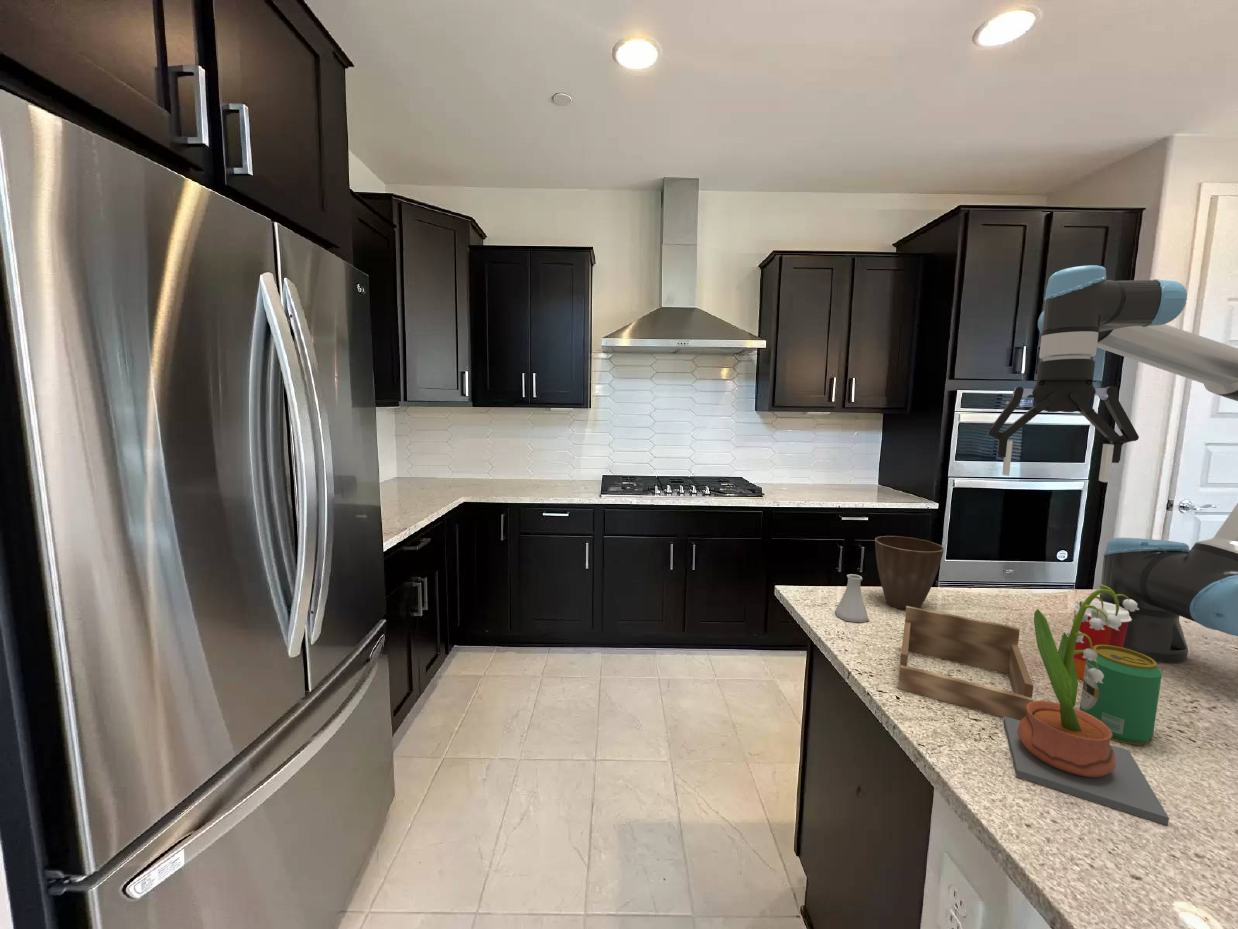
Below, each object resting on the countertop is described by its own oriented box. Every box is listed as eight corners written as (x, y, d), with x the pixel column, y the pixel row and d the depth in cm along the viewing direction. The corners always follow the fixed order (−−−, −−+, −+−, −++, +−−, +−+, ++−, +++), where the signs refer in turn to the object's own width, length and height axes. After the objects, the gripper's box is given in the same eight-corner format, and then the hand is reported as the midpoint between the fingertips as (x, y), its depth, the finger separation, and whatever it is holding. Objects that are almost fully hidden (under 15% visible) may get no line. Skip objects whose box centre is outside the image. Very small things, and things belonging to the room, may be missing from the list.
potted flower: (1080, 735, 72) (1101, 571, 70) (1152, 787, 62) (1180, 597, 60) (998, 732, 73) (1016, 569, 70) (1056, 783, 63) (1080, 595, 60)
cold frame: (1013, 674, 92) (1018, 627, 91) (1030, 724, 76) (1036, 670, 75) (902, 647, 101) (906, 605, 100) (897, 688, 86) (902, 639, 85)
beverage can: (1072, 707, 81) (1080, 638, 80) (1139, 724, 77) (1149, 651, 76) (1087, 734, 74) (1097, 659, 73) (1162, 754, 70) (1173, 674, 69)
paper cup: (1106, 672, 93) (1115, 601, 91) (1133, 694, 85) (1143, 617, 84) (1055, 665, 95) (1063, 595, 94) (1077, 685, 88) (1086, 610, 86)
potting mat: (1127, 756, 70) (1128, 750, 70) (1167, 825, 58) (1168, 818, 58) (1003, 722, 77) (1003, 716, 77) (1016, 777, 65) (1017, 770, 65)
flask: (829, 611, 120) (831, 571, 118) (857, 610, 120) (860, 571, 119) (844, 623, 112) (847, 581, 111) (875, 623, 113) (878, 581, 112)
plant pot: (881, 589, 135) (886, 532, 133) (945, 605, 124) (950, 544, 123) (861, 603, 124) (866, 542, 123) (929, 622, 114) (935, 555, 112)
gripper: (1158, 358, 84) (1141, 482, 86) (978, 363, 97) (967, 470, 99) (1176, 353, 77) (1158, 487, 80) (981, 360, 91) (970, 474, 93)
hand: (1052, 478), depth 89 cm, fingers open, 13 cm apart
